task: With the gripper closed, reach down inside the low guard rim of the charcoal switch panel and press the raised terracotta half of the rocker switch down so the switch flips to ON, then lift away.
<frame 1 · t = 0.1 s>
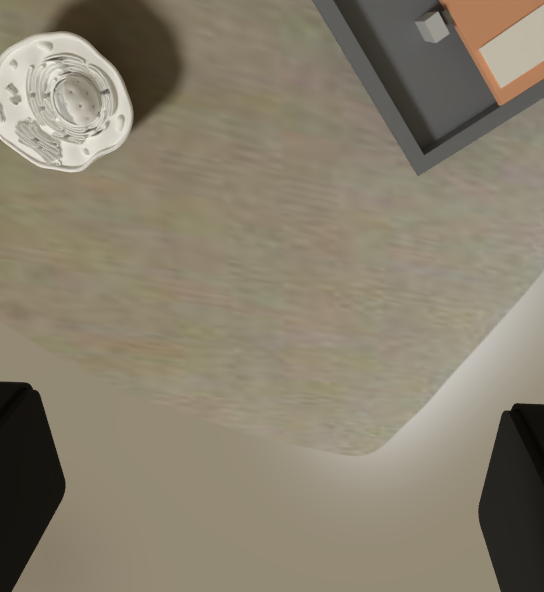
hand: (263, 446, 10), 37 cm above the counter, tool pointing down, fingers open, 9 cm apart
cell model: (83, 98, 44), on the counter
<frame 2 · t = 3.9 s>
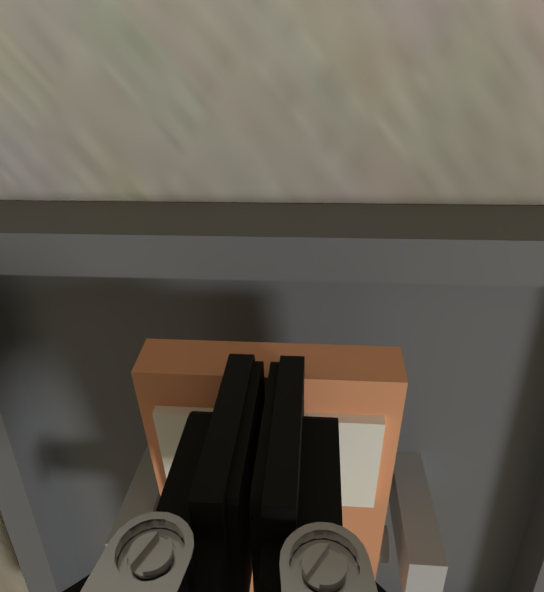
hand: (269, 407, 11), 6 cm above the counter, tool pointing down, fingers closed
rocker: (275, 541, 15), point 5 cm above the counter, hinge at -7.0°, touching gripper
breaker panel: (284, 434, 19), on the counter
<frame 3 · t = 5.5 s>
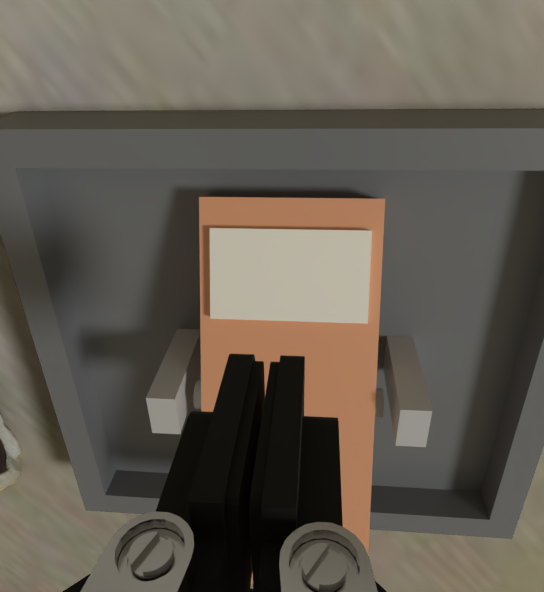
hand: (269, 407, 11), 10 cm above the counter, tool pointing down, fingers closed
rocker: (287, 399, 18), point 5 cm above the counter, hinge at 20.7°, touching breaker panel
breaker panel: (294, 328, 22), on the counter
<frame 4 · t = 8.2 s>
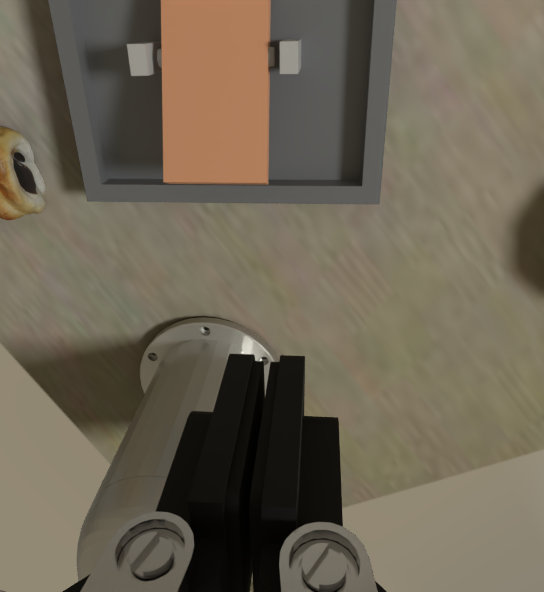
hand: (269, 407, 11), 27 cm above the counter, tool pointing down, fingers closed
rocker: (215, 56, 29), point 5 cm above the counter, hinge at 20.5°, touching breaker panel
breaker panel: (229, 53, 33), on the counter
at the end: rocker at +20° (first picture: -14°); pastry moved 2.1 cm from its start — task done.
